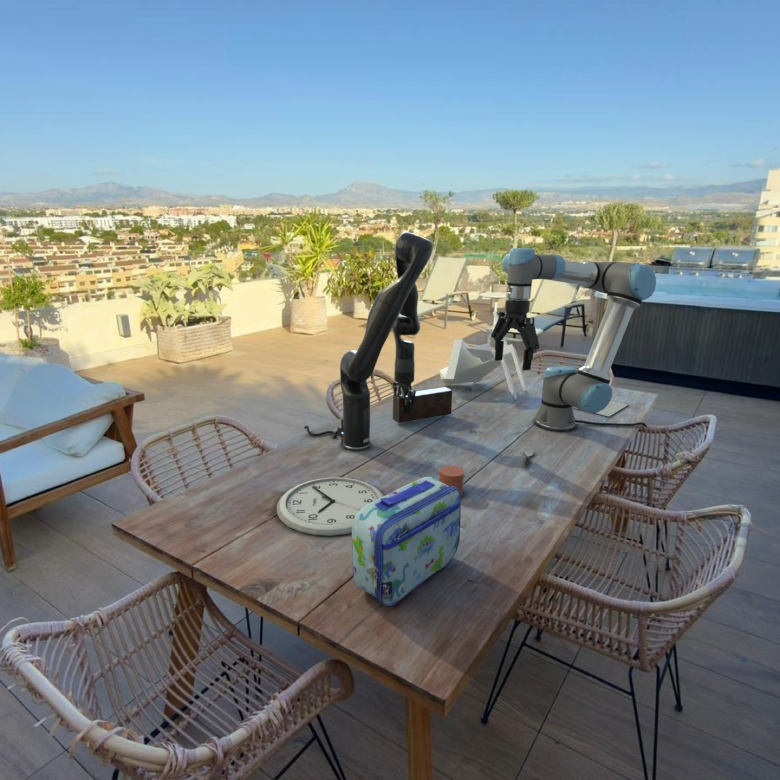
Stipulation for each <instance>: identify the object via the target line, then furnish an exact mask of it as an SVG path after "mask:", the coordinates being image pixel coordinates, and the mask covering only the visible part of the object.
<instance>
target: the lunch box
mask: <svg viewBox="0 0 780 780" xmlns="http://www.w3.org/2000/svg"><path fill="white" fill-rule="evenodd" d="M461 499H462V497H460V491H459V489H458V488H457V487H454V486H447V485H446V484H444V483H442V482H440V481H439V479H436V478H434V477H432V476H424V477H421V478H419V479H416V480H414V481H412V482H410V483H407V484H405V485H404V486H401V487H399V488H397V489H395V490H392V491H391V492H390V493H386V494H384V496H383V497H381V498H379V499H377V500H375V501H373V502H371V503H369V504H367V505H365V506H364V507H362V508H361V509H360V510H359V512H358V513H357V515H356V516H355V518H354V521H353V526H352V533H351V550H352V576H353V581H354V584H355V587H356V588H358V589H360V590H362V591H364V592H366V593H368V594H370V596H372V597H374V598H375V599H377V601H378V603H379V604H382V605H383V606H385V607H393V606H394V605H396V604H397V603H399V602H400V601H402V599H404V598H405V597H406V596H407V595H409V594H410V593H411V592H413V591H414V590H415V589H416V588H418V587H419V586H420V585H422V584H423V583H424V582H425V581H427V580H428V579H429V578H430V577H432V575H434V574H435V573H437V572H439V571H441V570H442V569H443V568H445V567H446V566H448V565H449V564H450V562H452V560H453V559H454V557H455V555H456V553H457V551H458V549H459V544H460V537H461V519H462V515H461V513H462V512H461V510H462V507H461V505H462V504H461V503H462V502H461Z"/></svg>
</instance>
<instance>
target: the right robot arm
mask: <svg viewBox="0 0 780 780" xmlns="http://www.w3.org/2000/svg"><path fill="white" fill-rule="evenodd" d="M501 266H502V269H503V271H504V273H506V274H507V278H506V291H505V292H506V293H505V298H507V299H505V302H504V303H505V304H504V311H500V312H499V314H498V316H499V319H498V321H497V323H496V322H495V326H494V328H493V330H492V332H491V335H490V337H491V338H492V339H494V341H495V342H494V350H495V361H499V360H502V359H503V347H504V341H501V340H504V339H503V338H504V337H506V336H507V334H508V333H509V332H510V330H511V329H514V330H517V333H519V335H520V337H521V339H522V342H523V344H524V347H525V349H524V350H523V359H522V371H523V372H524V371H531V369H532V361H533V360H534V353H535V352H534V351H535V350H539V349H540V343H539V339H538V334H537V330H536V326H535V317H533V316H532V317H528V313H529V312H530V308H531V307H530V306H531V301H530V299H531V298H532V287H533V286H532V285H533V284H532V283H533V280H545V281H552V282H560V283H567V284H573V285H578V286H579V288H582V289H588V290H592V291H595V292H599V293H603V294H604V295H605V294H606V300H607V302H608V303H607V306H606V308H605V311H604V313H603V317H602V319H601V321H600V324H599V325H598V329H597V333H595V337H594V339H593V342H592V345H591V347H590V350H589V353H588V354H587V357H586V360H585V363H584V365H583V366H582V367H580V368H578V369H577V367H574V366H566V365H565V366H564V365H559V366H558V365H557V366H550V367H547V368H546V369H545V370H544V375H543V381H542V392H541V402H540V405H539V407H538V410H537V411H536V413H535V417H534V424H535V425H536V426H537V427H539V428H542V429H544V430H549V431H556V432H567V431H572V430H574V429H575V428H576V423H577V424H586V425H592V426H606V427H607V426H612V427H613V426H614V427H635V426H643V427H644V428H648V425H647V424H646V423H644V422H642V421H641V422H640V421H639V422H635V423H621V422H620V423H617V422H615V423H614V422H594V421H587V420H579V419H576V418H575V417H576V416H575V413H574V407H576V408H578V409H577V410H580V411H582V412H586V413H589V414H596V413H597V412H600V411H601V410H603V409H604V408H605V407H606V406H607V405H608V404H609V402H610V401H612V398H613V388H612V386H611V385H610V383H611V377H610V376H609V373H610V371H611V368H612V365H613V363H614V360H615V358H616V355H617V353H618V350H619V347H620V345H621V343H622V340H623V338H624V335H625V333H626V330H627V327H628V325H629V323H630V321H631V317H632V316H633V315H632V314H633V313H634V310H636V309H638V308H639V307H641V305H642V303H643V301H645V300H648V299H649V298H651V297H652V296H653V294H654V292H655V290H656V286H657V277H656V273H655V271H654V269H653V268H652V267H651V265H650V266H649V265H648V264H644V263H639V262H635V263H633V262H620V261H590V260H587V261H584V262H578V261H572V260H567V259H565V258H564V257H563V256H562V255H561V254H554V253H553V254H543V253H536V251H535V249H534V248H529V247H525V248H524V247H514V248H511V249H510V251H509V253H507V254H505V256H504V257H503V259H502V265H501ZM576 408H575V409H576Z"/></svg>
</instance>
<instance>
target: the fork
mask: <svg viewBox="0 0 780 780" xmlns="http://www.w3.org/2000/svg"><path fill="white" fill-rule="evenodd" d="M534 448H535V446H534V445H531V447H530V448H528V447H526V448H525V452H524V455H525V456H526V458H525V460H524V469H527V466H528V464H529V461H530V457H532V456H534Z"/></svg>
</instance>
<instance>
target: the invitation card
mask: <svg viewBox="0 0 780 780" xmlns="http://www.w3.org/2000/svg"><path fill="white" fill-rule="evenodd" d="M628 406H629V404H627V403H623V402H618V401H614V400H610V402H609V404H608V405H607V406H606V407H605V408H604V409H603V410H601V411H600V412H597V413H595V414H596V415H600V416H604V417H608V418H609V417H611V416H613V415H614V414H616V413H617V412H619V411H621V410H623V409H624V408H626V407H628ZM573 409H575V410H579V409H578V408H576V407H573Z"/></svg>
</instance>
